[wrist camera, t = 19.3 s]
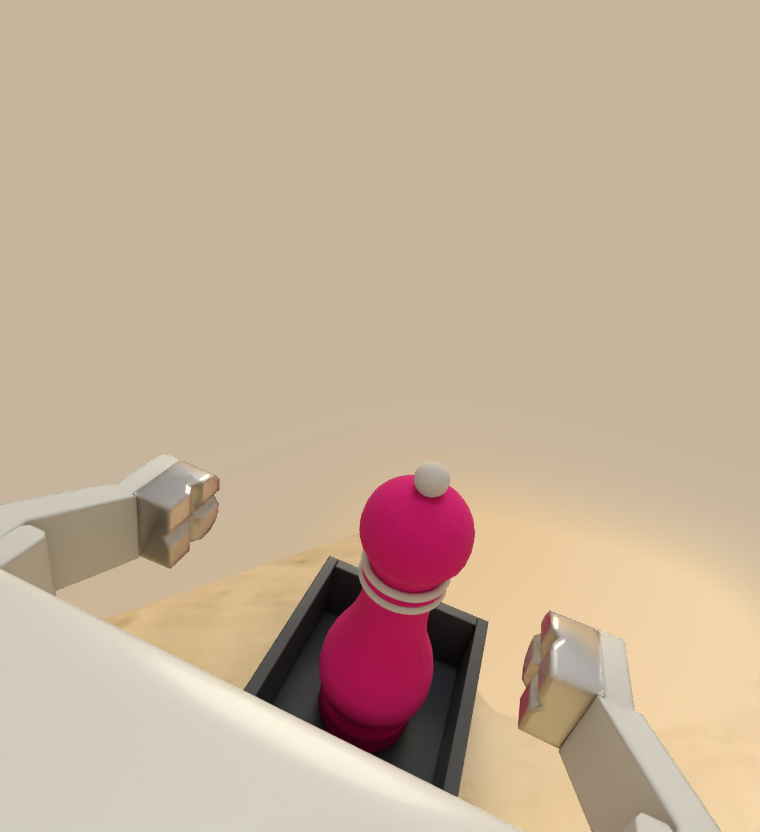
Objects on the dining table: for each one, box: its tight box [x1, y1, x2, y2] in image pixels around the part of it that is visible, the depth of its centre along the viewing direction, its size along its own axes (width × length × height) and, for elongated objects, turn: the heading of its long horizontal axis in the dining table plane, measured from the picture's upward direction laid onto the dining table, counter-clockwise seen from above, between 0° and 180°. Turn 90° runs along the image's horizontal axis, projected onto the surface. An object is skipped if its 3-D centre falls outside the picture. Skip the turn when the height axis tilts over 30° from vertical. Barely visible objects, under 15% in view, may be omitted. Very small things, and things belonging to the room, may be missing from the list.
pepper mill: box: [318, 462, 475, 753], centre depth 28 cm, size 7×7×20 cm
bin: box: [243, 556, 488, 797], centre depth 32 cm, size 13×13×6 cm
